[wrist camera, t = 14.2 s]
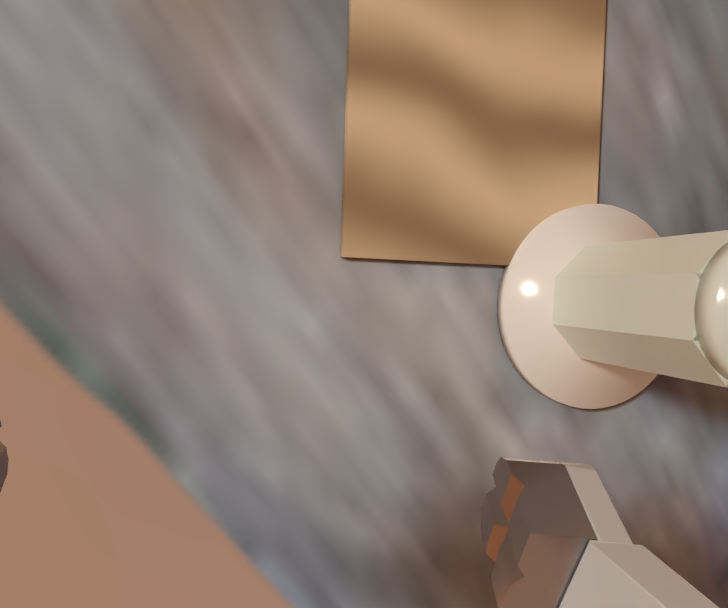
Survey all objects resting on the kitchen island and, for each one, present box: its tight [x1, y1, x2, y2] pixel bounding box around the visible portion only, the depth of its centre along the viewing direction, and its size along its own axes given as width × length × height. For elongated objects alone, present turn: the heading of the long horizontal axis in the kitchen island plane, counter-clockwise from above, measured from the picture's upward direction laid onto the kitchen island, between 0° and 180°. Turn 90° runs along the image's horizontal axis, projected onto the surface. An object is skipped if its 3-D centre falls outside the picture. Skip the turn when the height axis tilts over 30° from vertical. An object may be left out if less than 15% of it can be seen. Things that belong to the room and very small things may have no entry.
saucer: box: [497, 204, 660, 409], centre depth 31 cm, size 11×11×1 cm
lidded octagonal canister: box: [553, 230, 728, 388], centre depth 25 cm, size 6×6×11 cm
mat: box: [340, 0, 606, 266], centre depth 29 cm, size 16×14×1 cm
